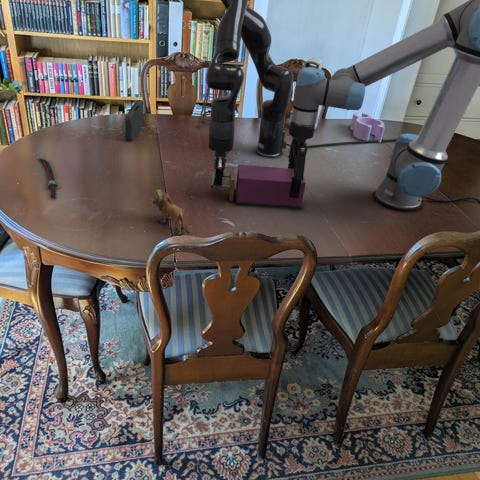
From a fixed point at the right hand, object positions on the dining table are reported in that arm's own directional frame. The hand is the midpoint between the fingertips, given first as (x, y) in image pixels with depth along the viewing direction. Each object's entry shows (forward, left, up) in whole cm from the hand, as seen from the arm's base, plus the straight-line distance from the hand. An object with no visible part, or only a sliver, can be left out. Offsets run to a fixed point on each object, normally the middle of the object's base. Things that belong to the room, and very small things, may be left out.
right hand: (291, 189), depth 151 cm
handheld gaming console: (+52, -58, -4) cm, 78 cm away
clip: (-52, -65, -4) cm, 83 cm away
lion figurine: (+39, +15, -4) cm, 42 cm away
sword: (+78, -14, -4) cm, 79 cm away
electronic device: (-23, -70, -4) cm, 74 cm away
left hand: (+23, -3, 0) cm, 24 cm away
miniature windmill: (+20, -69, -4) cm, 72 cm away
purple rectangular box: (+7, -1, -4) cm, 8 cm away
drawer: (+13, -2, -3) cm, 14 cm away
